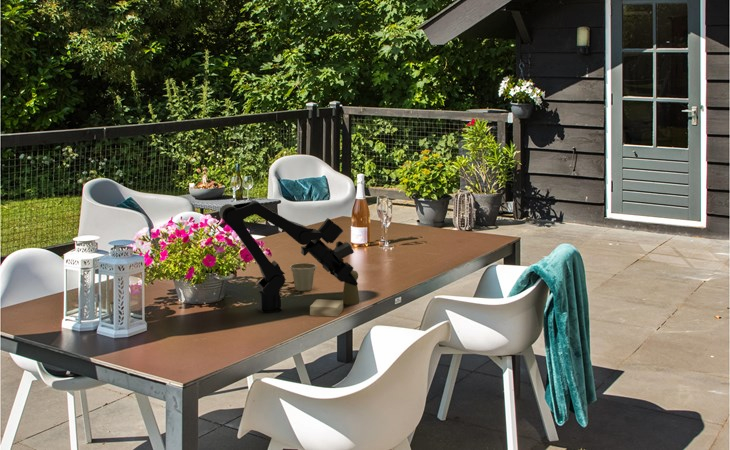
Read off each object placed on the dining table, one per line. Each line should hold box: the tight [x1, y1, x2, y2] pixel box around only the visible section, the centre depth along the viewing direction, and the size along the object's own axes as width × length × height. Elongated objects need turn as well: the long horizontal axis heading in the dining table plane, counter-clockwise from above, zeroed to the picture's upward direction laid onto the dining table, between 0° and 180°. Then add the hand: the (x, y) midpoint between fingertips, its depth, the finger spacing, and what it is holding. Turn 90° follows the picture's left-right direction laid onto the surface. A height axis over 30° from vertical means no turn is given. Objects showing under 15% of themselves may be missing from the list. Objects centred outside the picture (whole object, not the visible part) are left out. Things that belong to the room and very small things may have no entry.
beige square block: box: [309, 298, 344, 318], centre depth 312 cm, size 9×9×3 cm
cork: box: [341, 269, 361, 306], centre depth 323 cm, size 6×6×11 cm
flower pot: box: [289, 262, 317, 292], centre depth 341 cm, size 9×9×9 cm
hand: (354, 283), depth 323 cm, fingers closed on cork, 5 cm apart
